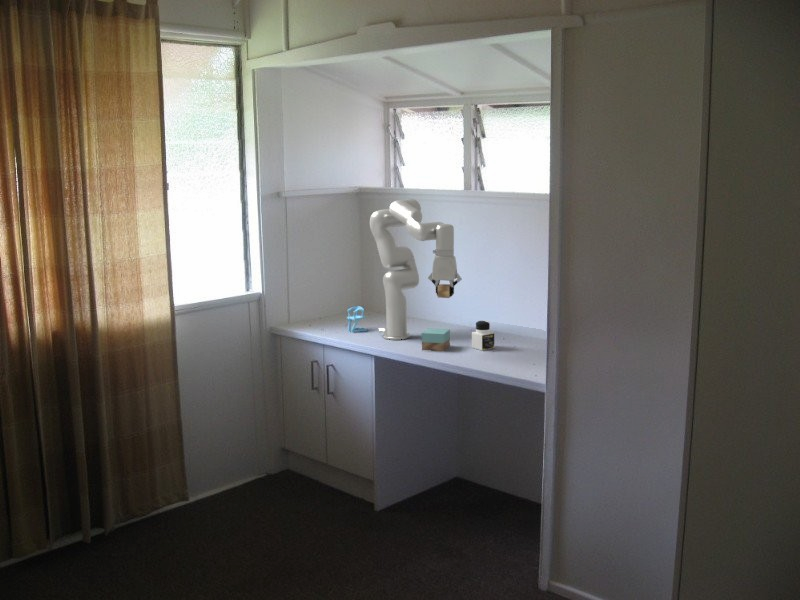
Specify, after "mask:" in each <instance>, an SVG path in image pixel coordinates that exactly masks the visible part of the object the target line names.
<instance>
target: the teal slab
mask: <svg viewBox="0 0 800 600" xmlns="http://www.w3.org/2000/svg"><path fill="white" fill-rule="evenodd" d="M448 339H450V340H451V329H448V328H426V329H425V330H424V331H423V332H421V343H422V342H430V343H445V342H446V341H447V340H448Z"/></svg>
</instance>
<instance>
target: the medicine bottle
mask: <svg viewBox="0 0 800 600" xmlns="http://www.w3.org/2000/svg"><path fill="white" fill-rule="evenodd" d="M471 348H472V349H474V348H475V350H479V351H482V350H484V351H487V349H488V350H492V348H493V349H495V332H493V331H491V323H490V321H488V320H478V321H477V322H475V331H472V332H471Z"/></svg>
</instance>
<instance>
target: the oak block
mask: <svg viewBox="0 0 800 600" xmlns="http://www.w3.org/2000/svg"><path fill="white" fill-rule="evenodd" d="M451 297H452V296H450V283H449V284H448V283H439V285H438V296H437V298H441V299H450V298H451Z"/></svg>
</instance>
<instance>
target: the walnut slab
mask: <svg viewBox="0 0 800 600" xmlns="http://www.w3.org/2000/svg"><path fill="white" fill-rule="evenodd" d="M450 342H451V338H450V339H448V340H447V341H446V342H445V343H430V342H422V341H421V351H423V350H431V351H430V352H445V351H446V350H447V349H449V348H450V347H449V346H451V344H450Z"/></svg>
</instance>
